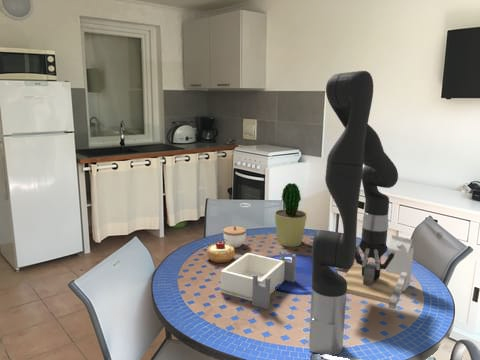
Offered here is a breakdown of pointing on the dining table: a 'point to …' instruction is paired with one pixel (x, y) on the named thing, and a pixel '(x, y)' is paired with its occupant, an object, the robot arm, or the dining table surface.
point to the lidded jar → (234, 235)
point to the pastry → (220, 252)
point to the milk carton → (401, 257)
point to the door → (375, 284)
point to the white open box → (257, 277)
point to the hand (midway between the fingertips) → (370, 278)
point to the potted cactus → (290, 218)
